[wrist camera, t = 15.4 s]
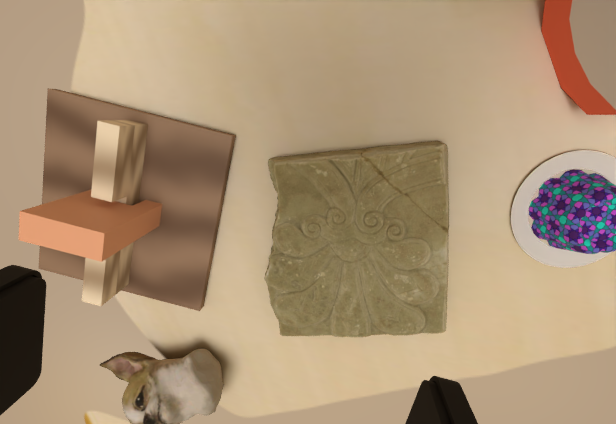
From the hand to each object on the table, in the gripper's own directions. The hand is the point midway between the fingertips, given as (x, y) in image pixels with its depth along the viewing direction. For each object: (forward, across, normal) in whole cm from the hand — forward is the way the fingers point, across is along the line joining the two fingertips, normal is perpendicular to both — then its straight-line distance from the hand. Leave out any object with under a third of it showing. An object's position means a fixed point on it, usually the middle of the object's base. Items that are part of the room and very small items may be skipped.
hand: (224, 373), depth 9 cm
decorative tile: (+31, -6, +6) cm, 32 cm away
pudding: (+31, -26, -3) cm, 40 cm away
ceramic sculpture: (+31, +10, +28) cm, 43 cm away
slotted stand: (+30, +18, +8) cm, 36 cm away
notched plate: (+29, +18, +8) cm, 35 cm away
